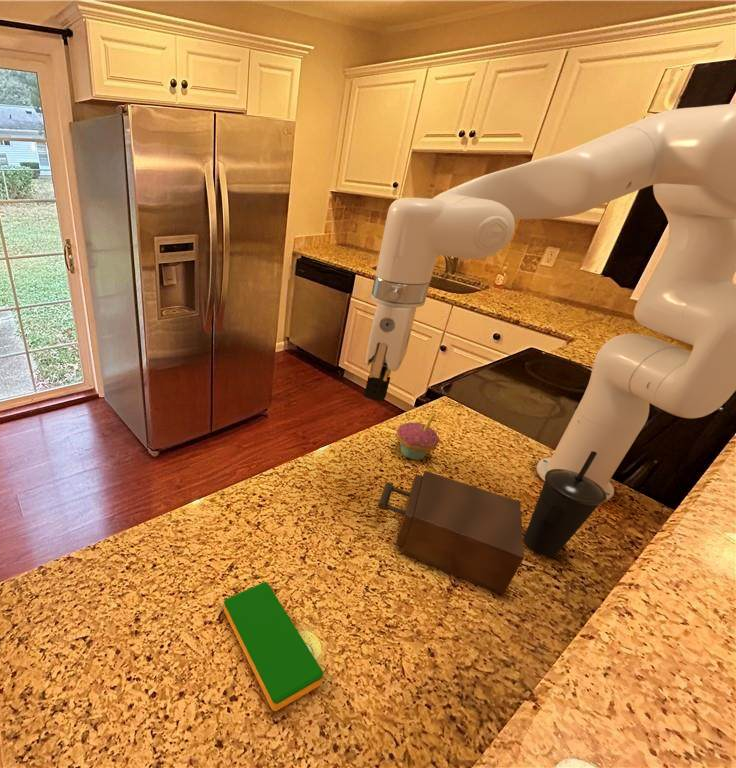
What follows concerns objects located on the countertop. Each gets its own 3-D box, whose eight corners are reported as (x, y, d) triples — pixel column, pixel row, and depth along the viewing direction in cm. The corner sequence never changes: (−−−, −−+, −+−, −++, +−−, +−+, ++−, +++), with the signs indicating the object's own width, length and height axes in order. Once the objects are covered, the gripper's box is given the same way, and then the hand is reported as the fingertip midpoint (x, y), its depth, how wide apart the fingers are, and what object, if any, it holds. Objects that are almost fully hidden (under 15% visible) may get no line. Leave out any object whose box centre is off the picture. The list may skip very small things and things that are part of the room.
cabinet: (401, 553, 68) (413, 516, 64) (413, 505, 78) (424, 470, 74) (502, 595, 62) (524, 557, 58) (502, 537, 71) (520, 501, 67)
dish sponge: (265, 590, 62) (266, 580, 61) (322, 684, 51) (325, 674, 50) (222, 609, 59) (223, 599, 58) (273, 713, 48) (274, 703, 47)
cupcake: (438, 453, 92) (454, 407, 86) (424, 471, 86) (440, 424, 80) (400, 437, 97) (413, 393, 91) (385, 453, 91) (397, 407, 86)
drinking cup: (577, 568, 66) (641, 473, 57) (525, 559, 68) (579, 465, 58) (554, 531, 73) (608, 440, 63) (507, 524, 74) (552, 434, 64)
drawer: (369, 533, 71) (377, 504, 67) (383, 492, 79) (391, 465, 76) (487, 581, 63) (503, 551, 60) (488, 531, 71) (502, 502, 68)
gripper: (419, 308, 53) (388, 425, 62) (433, 283, 64) (405, 385, 73) (360, 298, 56) (339, 411, 65) (383, 276, 68) (363, 374, 76)
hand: (374, 397), depth 69 cm, fingers closed
